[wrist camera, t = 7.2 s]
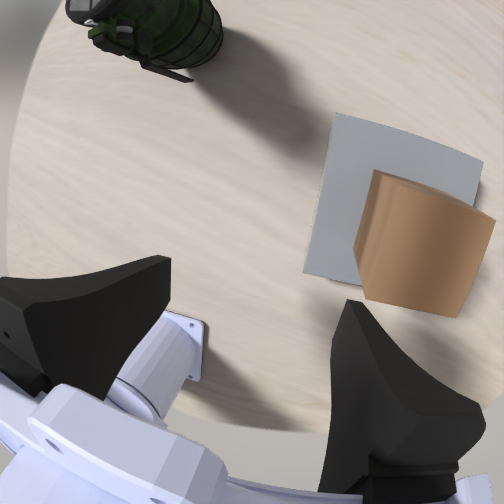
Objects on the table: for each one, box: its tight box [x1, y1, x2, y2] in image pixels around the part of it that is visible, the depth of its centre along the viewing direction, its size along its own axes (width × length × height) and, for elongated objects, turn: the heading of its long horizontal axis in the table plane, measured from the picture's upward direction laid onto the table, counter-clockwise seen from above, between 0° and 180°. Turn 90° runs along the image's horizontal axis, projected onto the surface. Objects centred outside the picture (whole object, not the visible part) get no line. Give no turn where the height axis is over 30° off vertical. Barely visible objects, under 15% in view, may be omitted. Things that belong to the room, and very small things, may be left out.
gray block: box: [303, 113, 483, 286], centre depth 18 cm, size 10×10×4 cm
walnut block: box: [353, 169, 496, 318], centre depth 14 cm, size 5×5×6 cm
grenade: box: [65, 0, 223, 83], centre depth 12 cm, size 6×6×12 cm
